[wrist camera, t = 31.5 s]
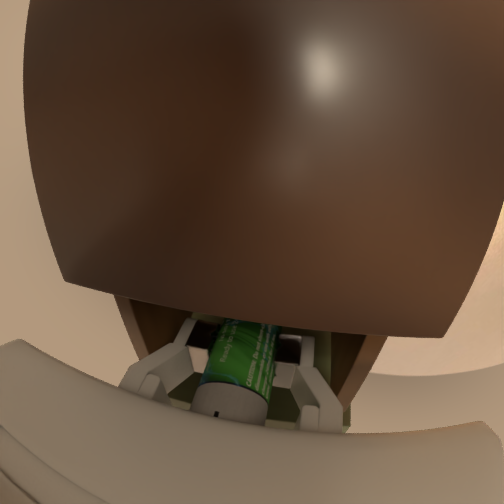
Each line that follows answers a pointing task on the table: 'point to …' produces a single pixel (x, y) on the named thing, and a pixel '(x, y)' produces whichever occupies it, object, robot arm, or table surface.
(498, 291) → the table surface
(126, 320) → the drawer
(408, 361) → the table surface
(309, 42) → the cabinet
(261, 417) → the battery
